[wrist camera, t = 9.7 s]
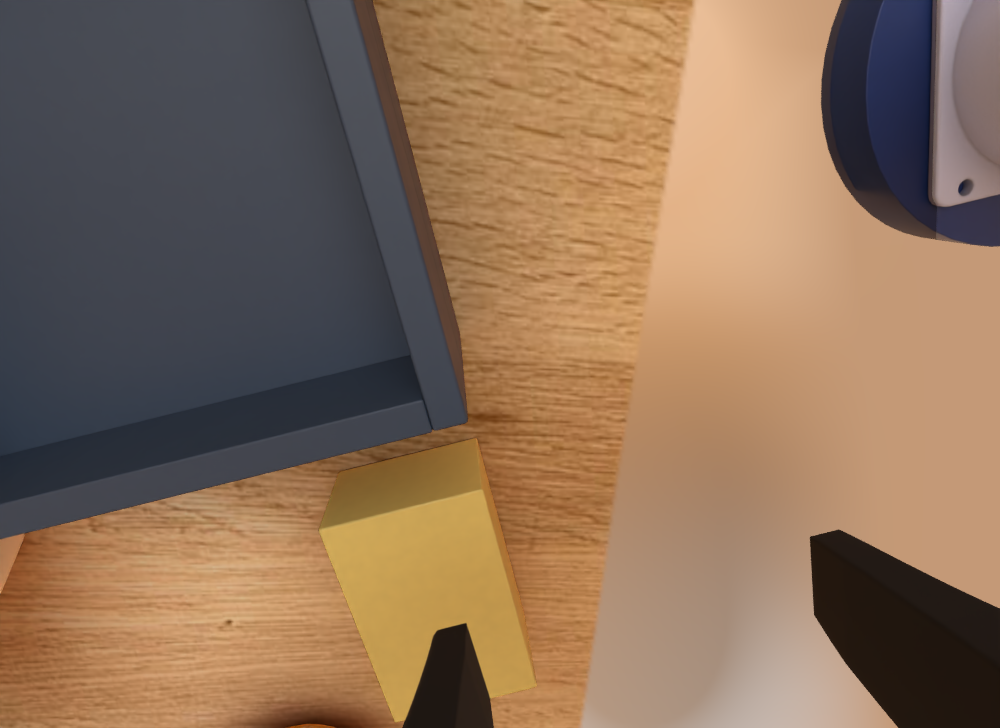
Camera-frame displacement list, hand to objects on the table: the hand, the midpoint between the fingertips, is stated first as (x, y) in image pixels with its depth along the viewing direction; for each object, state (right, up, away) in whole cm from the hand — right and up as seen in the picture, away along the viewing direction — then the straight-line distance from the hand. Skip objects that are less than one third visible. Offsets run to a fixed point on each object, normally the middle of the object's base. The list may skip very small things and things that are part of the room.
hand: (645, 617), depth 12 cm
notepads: (-5, -2, +10) cm, 11 cm away
